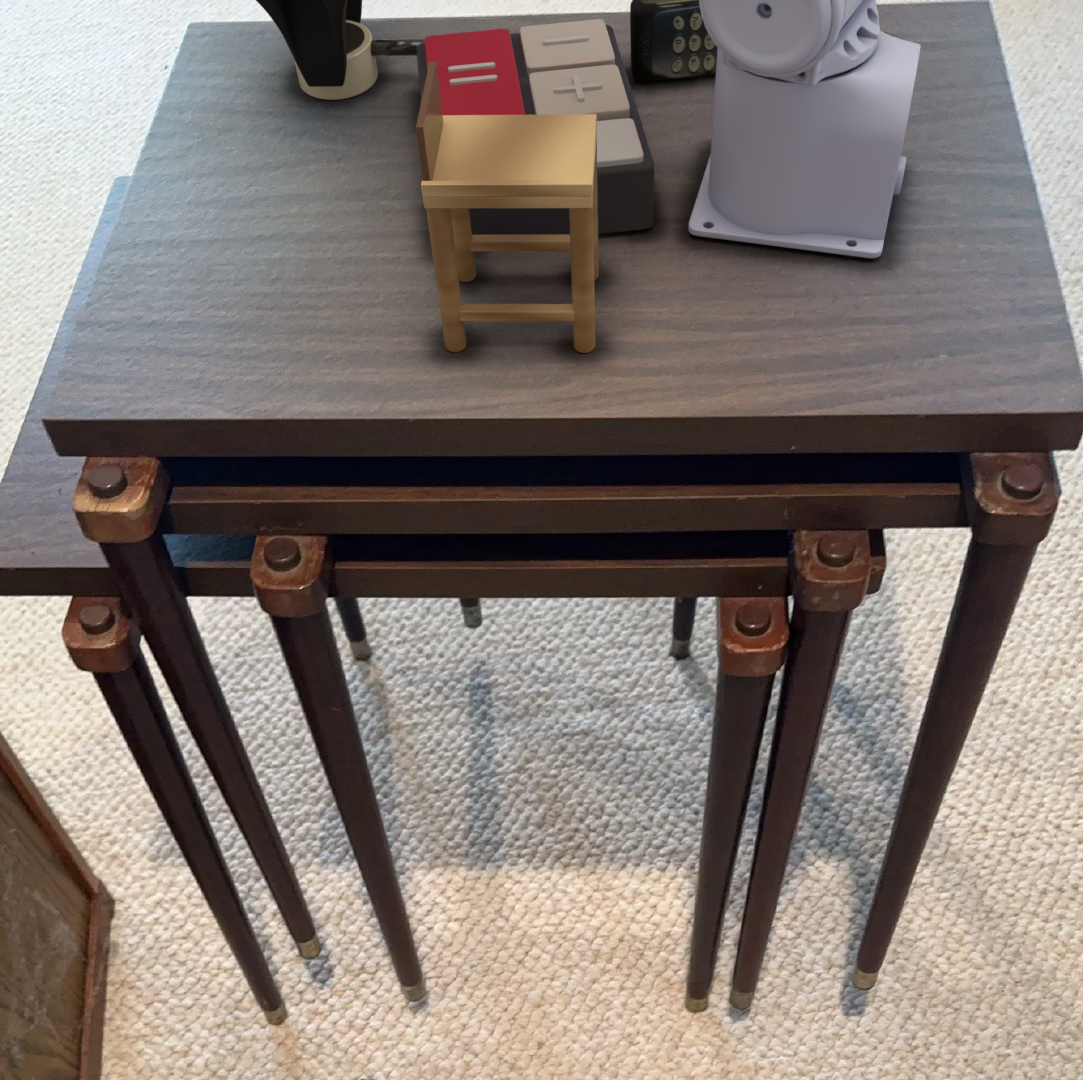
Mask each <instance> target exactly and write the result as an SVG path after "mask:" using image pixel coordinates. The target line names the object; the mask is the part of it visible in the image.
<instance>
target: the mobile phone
mask: <svg viewBox="0 0 1083 1080" xmlns="http://www.w3.org/2000/svg"><path fill="white" fill-rule="evenodd" d="M629 7H630V8H629V9H630V10H629V26H630V33H629V36H630V38H629V39H630V40H629V41H630V71H631V75H632V77H633V78H634V79H635V80H638V81H646V82H647V81H648V82H650V81H665V80H673V79H674V80H676V79H685V78H697V77H698V78H699V77H710V76H716V65H717V50H718V47H717V46H716V45H715V43H714V42H713V40H712V39H711V37H710V35H709V33H708V31H707V30H706V28H705V25H704V22H703V19H702V16H701V11H700V5H699V0H631V2H630V5H629ZM883 32H884V33H886V34H888V33H889V32H888V31H883ZM888 35H889V34H888Z"/></svg>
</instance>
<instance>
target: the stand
mask: <svg viewBox="0 0 1083 1080" xmlns="http://www.w3.org/2000/svg"><path fill="white" fill-rule="evenodd" d="M425 210H426V217H427V225H428V232H429V239H430V245H431V246H430V247H431V254H432V261H433V268H434V275H435V283H436V290H437V296H438V305H439V311H440V318H441V326H442V333H443V334H442V335H443V339H444V347H445V349H446V350H447V351H449V352H451V353H459V352H461V351H463V350H464V349H466V346H467V336H466V327H465V322H546V323H547V322H551V323H552V322H557V323H558V322H563V323H564V322H565V323H566V322H569V323H570V322H571V323H572V332H573V334H572V335H573V336H572V337H573V348H574V349H575V350H576V351H577V352H579V353H582V354H587V353H591V352H592V351H593V350H595V348H596V300H595V299H596V298H595V297H596V296H595V281H596V280H597V279H598V278H599V275H600V271H599V269H600V267H599V266H600V264H599V263H600V262H599V261H600V260H599V234H598V188H597V134H596V153H595V171H594V189H593V206H592V208H569V221H570V235H472V230H471V221H470V212H469V208H434V209H426V208H425ZM475 252H570V272H571V273H570V274H571V278H570V279H571V303H462V302H463V301H462V294H461V288H460V287H461V286H460V282H461V283H469V282H472V281H474V280H475V279H476V278H477V271H476V269H477V267H476V259H475V258H476V257H475Z"/></svg>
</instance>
